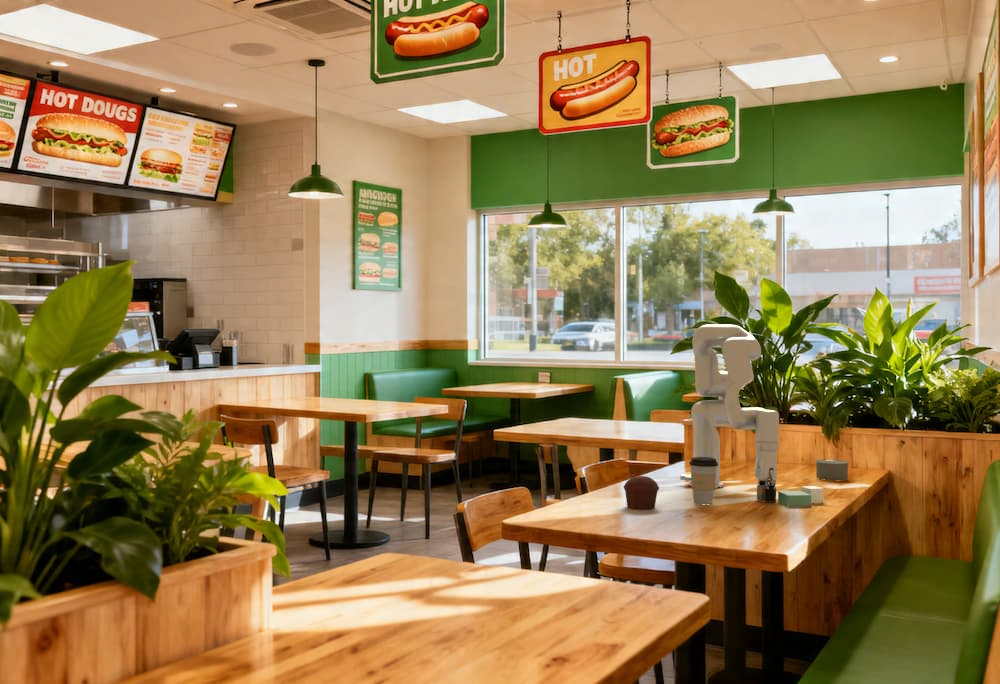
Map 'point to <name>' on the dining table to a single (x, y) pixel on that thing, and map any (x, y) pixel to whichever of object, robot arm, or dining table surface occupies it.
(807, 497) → the green base
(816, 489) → the cream cube
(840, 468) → the can
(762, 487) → the walnut cube
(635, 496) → the muffin
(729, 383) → the robot arm
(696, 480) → the coffee cup
